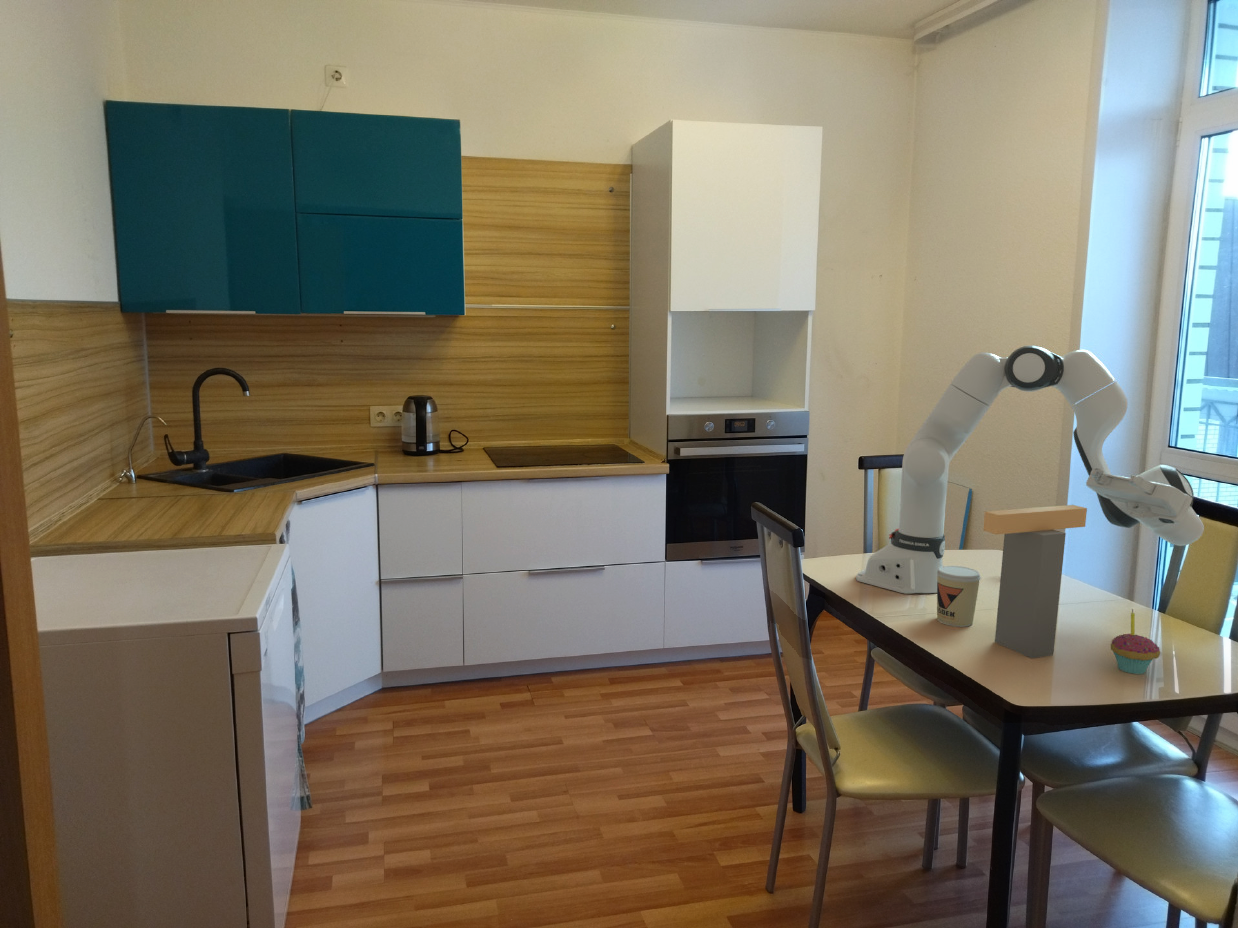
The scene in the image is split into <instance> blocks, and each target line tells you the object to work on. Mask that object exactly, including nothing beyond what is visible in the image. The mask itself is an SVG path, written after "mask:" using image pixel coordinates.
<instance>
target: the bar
mask: <svg viewBox="0 0 1238 928" xmlns="http://www.w3.org/2000/svg"><path fill="white" fill-rule="evenodd" d="M1087 512H1088V508H1087V507H1084V506H1079V505H1076V504H1066V505H1055V506H1054V505H1053V506H1051V505H1050V506H1043V507H1042V506H1040V507H1037V506H1036V507H1027V508H1024V507H1023V508H1015V509H1013V508H1011V509H1001V510H1000V509H999V510H998V509H997V510H987V511H984V518H983V528H982V529H983V530H982V531H983V532H987V533H990V534H994V535H995V536H996V535H1004V534H1009V533H1020V532H1032V531H1043V530H1063V529H1074V528H1075V529H1076V528H1085V527H1086V523H1087V514H1088V513H1087Z"/></svg>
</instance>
